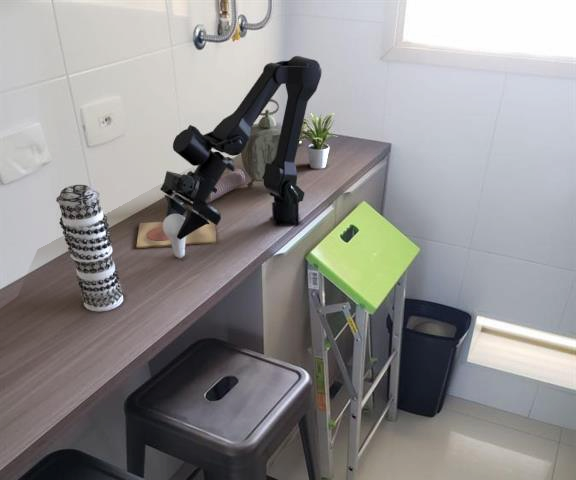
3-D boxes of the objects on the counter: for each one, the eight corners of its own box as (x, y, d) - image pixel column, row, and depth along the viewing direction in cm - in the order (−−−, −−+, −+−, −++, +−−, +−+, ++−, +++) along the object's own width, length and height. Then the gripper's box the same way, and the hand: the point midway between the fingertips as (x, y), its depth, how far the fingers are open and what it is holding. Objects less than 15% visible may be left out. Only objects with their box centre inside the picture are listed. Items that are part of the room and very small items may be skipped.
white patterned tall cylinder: (110, 315, 124) (82, 201, 108) (73, 308, 127) (41, 195, 111) (133, 294, 131) (110, 183, 115) (98, 287, 133) (70, 178, 117)
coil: (210, 190, 165) (247, 170, 177) (197, 185, 167) (234, 165, 179) (210, 205, 168) (246, 185, 180) (197, 200, 170) (234, 180, 182)
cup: (285, 147, 206) (284, 123, 201) (288, 140, 211) (288, 117, 206) (306, 148, 205) (306, 124, 200) (309, 141, 210) (309, 118, 205)
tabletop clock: (288, 180, 182) (287, 93, 166) (297, 191, 175) (297, 101, 159) (242, 186, 179) (237, 97, 163) (250, 197, 172) (246, 106, 156)
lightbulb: (197, 253, 145) (191, 211, 138) (185, 264, 141) (179, 221, 134) (174, 250, 147) (168, 207, 140) (163, 261, 143) (156, 218, 136)
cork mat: (214, 219, 161) (213, 217, 160) (216, 242, 150) (215, 240, 150) (139, 224, 159) (139, 222, 158) (136, 248, 148) (136, 246, 148)
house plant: (313, 154, 200) (313, 102, 190) (348, 162, 194) (350, 109, 183) (288, 166, 191) (288, 113, 181) (324, 175, 185) (325, 120, 174)
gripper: (161, 146, 137) (127, 204, 139) (204, 168, 125) (166, 231, 127) (194, 172, 145) (161, 226, 147) (237, 195, 134) (201, 253, 136)
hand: (171, 233), depth 139 cm, fingers closed on lightbulb, 6 cm apart
